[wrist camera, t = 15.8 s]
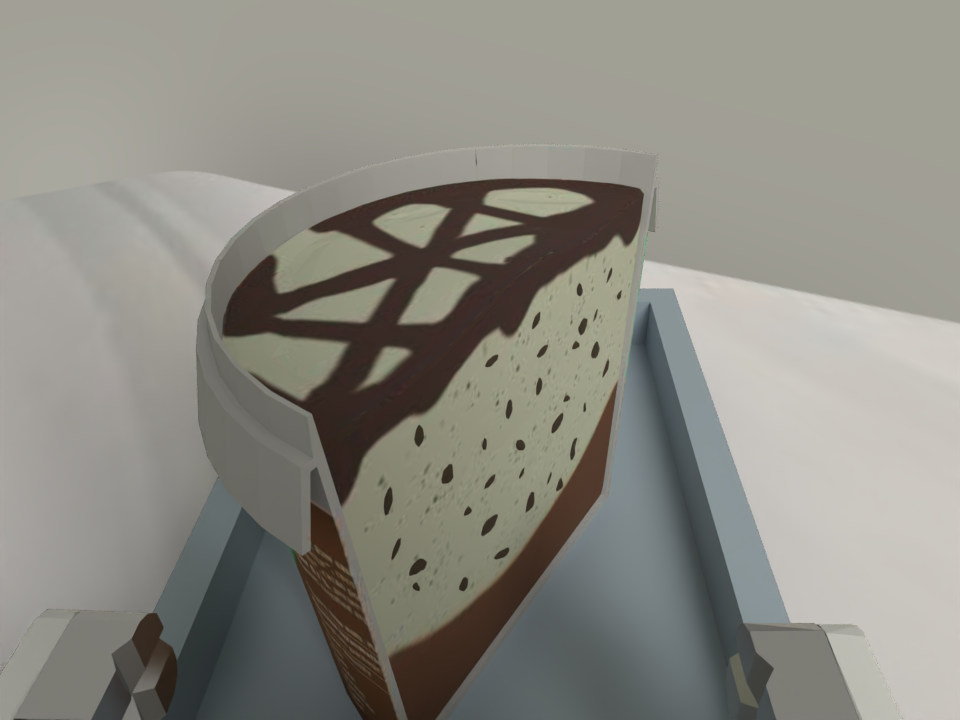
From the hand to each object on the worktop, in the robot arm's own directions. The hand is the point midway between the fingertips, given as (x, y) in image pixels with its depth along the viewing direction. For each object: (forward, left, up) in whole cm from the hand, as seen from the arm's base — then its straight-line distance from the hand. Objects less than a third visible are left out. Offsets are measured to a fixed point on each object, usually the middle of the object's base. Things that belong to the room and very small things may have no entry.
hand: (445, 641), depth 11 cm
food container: (-1, +7, -7) cm, 10 cm away
